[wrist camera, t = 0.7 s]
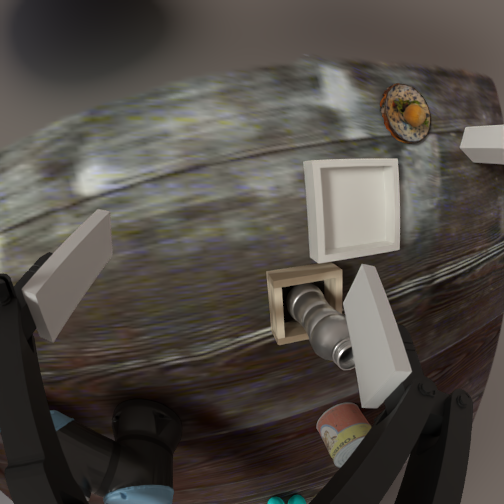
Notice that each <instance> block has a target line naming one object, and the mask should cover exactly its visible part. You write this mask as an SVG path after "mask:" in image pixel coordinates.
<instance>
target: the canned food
mask: <svg viewBox="0 0 504 504" xmlns="http://www.w3.org/2000/svg"><path fill="white" fill-rule="evenodd" d="M370 429H371V425H370V424H369V422H368V421H367V420H366V418H365V417H364V415H363V414H362V412H361V411H360V409H359V407H358V406H357V405H356V404H354V403H341V404H338V405H336V406H334V407H332V408H330V409H328V410H327V411H326V412H325V413H324V414H323V415H322V416H321V417H320V418H319V420H318V422H317V430H318V432H319V433H320V435H321V437H322V439H323V441H324V443H325V445H326V447H327V449H328V451H329V453H330V455H331V457H332V459H333V461H334V464H335V466H337V467H339V468H341V467H342V466H343V464H344V463H345V462H346V461H347V459H348V458H349V457H350V456H351V454H352V453H353V452H354V451H355V449H356V448H357V447H358V445H359V444H360V443H361V441H362V440H363V439H364V437H365V436H366V434H367V433H368V432H369V430H370Z"/></svg>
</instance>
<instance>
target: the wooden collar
mask: <svg viewBox="0 0 504 504" xmlns="http://www.w3.org/2000/svg"><path fill="white" fill-rule="evenodd" d="M266 273H267V284H268V295H269V307H270V319H271V331H272V333H273V335H274V337H275V339H276V341H277V344H278V345H282V344H287V343H292V342H297V341H301V340H306V339H309V337H308V335H307V333H306V331H305V329H304V328H303V326H302V325H301V324H300V323H299V322H298V321H292V322H287V323H284V314H283V299H282V287H287V286H293V285H299V284H304V283H310V282H316V281H321V280H324V297H325V299H326V301H327V302H328V303H329V305H330V306H332V307H333V308H334V309H335V310H336V311H338V312H340V313H341V314H342V269H341V268H339V267H338V266H336V265H335V264H333V263H332V262H326V263H319V264H318V263H316V264H310V265H304V266H297V267H291V268H285V269H278V270H272V271H266Z"/></svg>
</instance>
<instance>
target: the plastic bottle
mask: <svg viewBox="0 0 504 504" xmlns="http://www.w3.org/2000/svg"><path fill="white" fill-rule="evenodd" d="M286 305H287V309H288V312H289V314H290V315H291V316H292V317H293V318H294V319H295V320H296V321H298V322H299V323H300V324H301V325H302V326H303V328H304V329H305V331H306V333H307V335H308V337H309V340H310V343H311V345H312V347H313V349H314V351H315V353H316V354H317V355H318V356H320V357H322V358H323V359H326V360H333V361H334V362H335V363H336V364H337V365H338V366H339V367H340V368H341V369H343V370H350V369H353V368H355V362H354V356H353V351H352V345H351V340H350V335H349V330H348V325H347V320H346V316H344V315H343V314H341V313H340V312H338V311H336V310H335V309H334V308H333V307H332V306H330V305H329V303H328V302H327V301H326V299H325V297H324V295H323V293H322V292H321V290H320V289H319V288H318V287H317V286H315V285H313V284H311V283H304V284H299V285H295V286H294V287H293V288H292V289H291V290H290V291H289V293H288V295H287V299H286Z"/></svg>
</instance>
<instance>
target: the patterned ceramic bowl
mask: <svg viewBox="0 0 504 504" xmlns="http://www.w3.org/2000/svg"><path fill="white" fill-rule="evenodd" d="M383 96H384V98H383V99H382V100H381V102H380V107H381V109H380V111H381V112H382V117H383V118H384V124H385V126H386V128H387V129H388V130H389V131H390V132H391V135H392V136H393V137H394V138H396V139H397V140H399V141H401V142H403V143H408V144H409V143H416V142H420V141H422V140H423V139H424V138H425V137H426V136H427V134H428V132H429V129H430V125H431V116H430V111H429V108H428V105H427V103H426V101H425V99H424V98H423V96H422V95H421V94H420V93H419V92H418V91H417V90H416V89H415V88H413V87H410V86H408V85H405V84H399V83H397V84H394V85H392V86H390V87H388V88H387V91H385V92H384V94H383Z"/></svg>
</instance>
